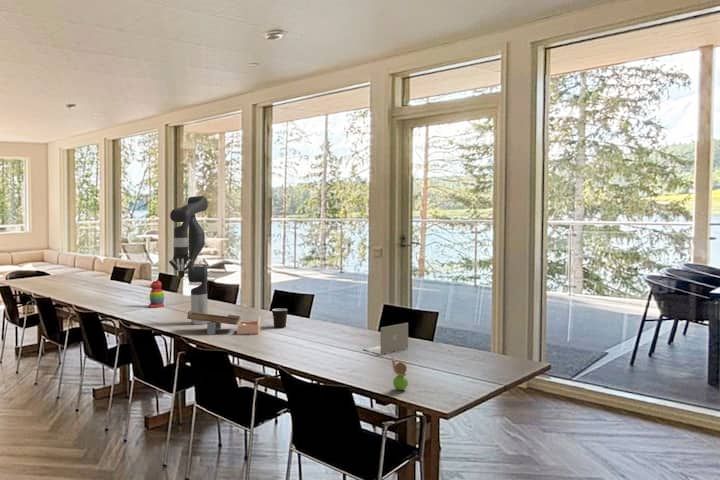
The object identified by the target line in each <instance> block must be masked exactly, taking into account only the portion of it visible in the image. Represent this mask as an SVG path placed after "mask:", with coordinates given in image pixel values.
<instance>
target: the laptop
mask: <svg viewBox="0 0 720 480" xmlns="http://www.w3.org/2000/svg"><path fill="white" fill-rule="evenodd" d="M408 348H409V322H403V323H398V324H392V325H387V326H382V327H380V345H377V346H372V347H367V348H366V349H369V351H372V350H373V352H374V353H373V354H375V352H377V353H378V354H377V355H379V354H383V355H385V354H384V353H387V354H389V353H388V352H392V353H394V352H393V351H396V352H399V351H398V350H401V351H404V350H403V349H405V350H408Z"/></svg>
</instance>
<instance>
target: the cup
mask: <svg viewBox="0 0 720 480" xmlns="http://www.w3.org/2000/svg"><path fill="white" fill-rule="evenodd" d="M261 323H262V322H261V315H258V317H257V318H256V321H255V320H254V321H253V320H252V321H251V320H250V321H249V320H247V321H244V320H243V321H242V320H240V324H238V325H237V328H236V335H240V334H251V335H260V332H261V327H262V326H261ZM242 324H246V325H242Z"/></svg>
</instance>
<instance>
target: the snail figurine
mask: <svg viewBox="0 0 720 480" xmlns="http://www.w3.org/2000/svg"><path fill="white" fill-rule="evenodd" d="M394 357H395V356H391V364H392V369H393V372H394V373H395V375H396V376H395V377H394V379H393V381H392V385H393V387H394V388H395V390H396V391H404V390H405V389H407V387H408V385H409V381H408V379H407V377H406V376H407V373H406V372H407V369H408V368H407V365H406V364H405V363H404V362H402V361H399V362H397V363H396V359H394Z"/></svg>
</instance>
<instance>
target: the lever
mask: <svg viewBox="0 0 720 480" xmlns="http://www.w3.org/2000/svg"><path fill="white" fill-rule="evenodd" d="M186 318H187V320H191V319H192V320H200V321H208V322H216V323H221V324H227V325H232V326H233V325H234V326H238V325H239V324H238V323H239V322H241V316H240V315H234V314H228V315H220V314H211V313H208V314H205V313H197V312H192V310H191V309H190V310H189V311H187V317H186ZM237 324H238V325H237Z"/></svg>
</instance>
